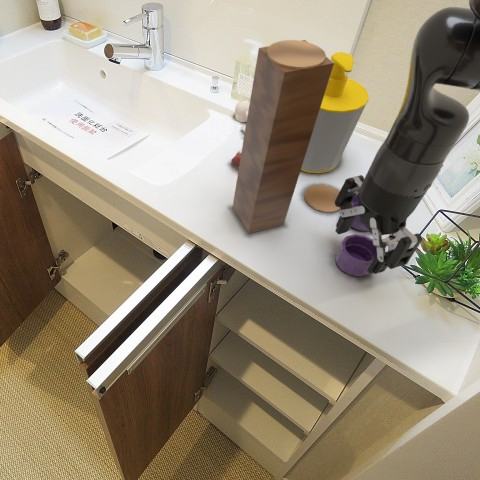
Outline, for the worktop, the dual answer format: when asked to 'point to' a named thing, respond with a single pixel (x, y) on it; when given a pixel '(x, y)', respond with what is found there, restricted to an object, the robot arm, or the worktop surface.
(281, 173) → the walnut stand
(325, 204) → the coaster back
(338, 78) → the soap bottle
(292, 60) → the coaster top
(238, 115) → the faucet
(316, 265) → the worktop surface
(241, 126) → the rivet
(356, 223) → the purple cup
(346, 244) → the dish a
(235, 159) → the dental model
